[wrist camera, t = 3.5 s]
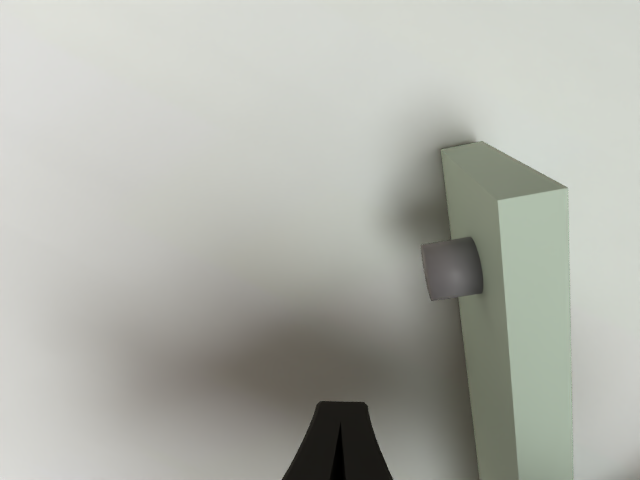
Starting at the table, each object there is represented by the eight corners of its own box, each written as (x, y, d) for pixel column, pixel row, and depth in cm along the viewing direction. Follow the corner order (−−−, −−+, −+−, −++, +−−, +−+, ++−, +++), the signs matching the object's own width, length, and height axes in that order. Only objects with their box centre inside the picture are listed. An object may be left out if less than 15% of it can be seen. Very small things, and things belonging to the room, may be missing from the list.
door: (518, 571, 16) (578, 752, 12) (463, 574, 16) (502, 753, 12) (482, 141, 11) (568, 188, 6) (400, 157, 11) (430, 212, 7)
